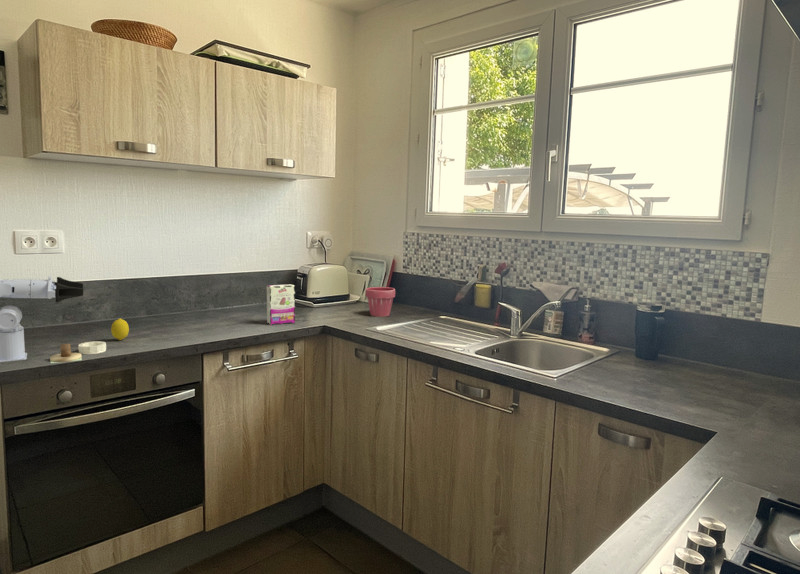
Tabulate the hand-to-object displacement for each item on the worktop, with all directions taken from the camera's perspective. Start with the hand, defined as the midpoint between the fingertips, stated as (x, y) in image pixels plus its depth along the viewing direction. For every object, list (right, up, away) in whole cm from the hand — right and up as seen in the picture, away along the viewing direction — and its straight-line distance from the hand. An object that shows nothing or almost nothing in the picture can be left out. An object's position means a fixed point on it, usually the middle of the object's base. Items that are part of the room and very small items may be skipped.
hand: (83, 289), depth 170 cm
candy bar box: (+50, -15, +59) cm, 79 cm away
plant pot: (+91, -13, +86) cm, 126 cm away
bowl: (+1, -20, +3) cm, 20 cm away
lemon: (+2, -18, +19) cm, 27 cm away
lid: (-1, -21, -7) cm, 22 cm away
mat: (-1, -21, -6) cm, 22 cm away
